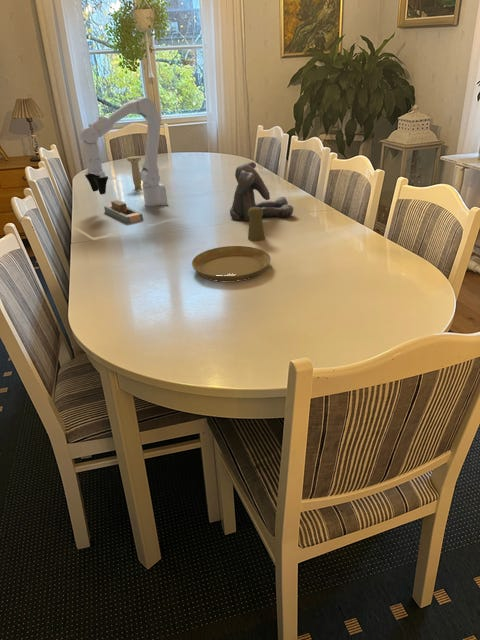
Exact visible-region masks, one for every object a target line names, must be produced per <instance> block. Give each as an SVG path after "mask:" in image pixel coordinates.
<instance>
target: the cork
mask: <svg viewBox="0 0 480 640" xmlns="http://www.w3.org/2000/svg"><path fill="white" fill-rule="evenodd" d="M248 215H249V217H250V221H248V222H249V223H248V232H247V240H248V241H251V242H252V241H253V242H260V241H263V240H265V239H266V235H265V230H264V225H263V217H262V215H263V210H262V208H260V207H251V208H250V209H249V210H248Z"/></svg>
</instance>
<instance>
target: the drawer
mask: <svg viewBox="0 0 480 640" xmlns="http://www.w3.org/2000/svg"><path fill="white" fill-rule="evenodd" d="M110 202H111V204H110V205H112V209H114V210H116V211H119V212H121V213H123V214H125V215H128V213H127V207H128V206H127V203H126V202H123V201H121V200H119V199H117V200H111V201H110Z"/></svg>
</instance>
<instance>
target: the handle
mask: <svg viewBox="0 0 480 640" xmlns="http://www.w3.org/2000/svg"><path fill="white" fill-rule="evenodd" d="M141 160H142V157H141V156H139V155H136V156H135V155H134V156H128V157H127V161H128V162H130V165H131V175H132V176H131V177H132V182H133V186H134V189H135V190H136V189H137V190H139V189H142V180H141V179H140V172H141V170H140V167H139V161H141Z"/></svg>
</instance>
